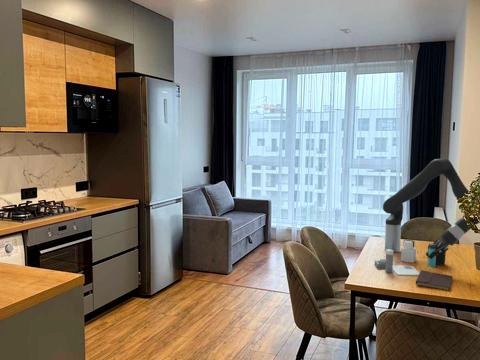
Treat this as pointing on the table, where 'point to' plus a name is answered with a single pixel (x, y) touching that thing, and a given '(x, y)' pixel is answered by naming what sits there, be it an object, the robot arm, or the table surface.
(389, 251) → the grey marker
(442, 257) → the pen holder
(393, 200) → the robot arm
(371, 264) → the table surface
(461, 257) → the table surface
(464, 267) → the table surface
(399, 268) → the sheet
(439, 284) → the notebook
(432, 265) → the marker
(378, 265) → the button housing
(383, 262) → the button
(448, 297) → the table surface
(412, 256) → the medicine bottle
